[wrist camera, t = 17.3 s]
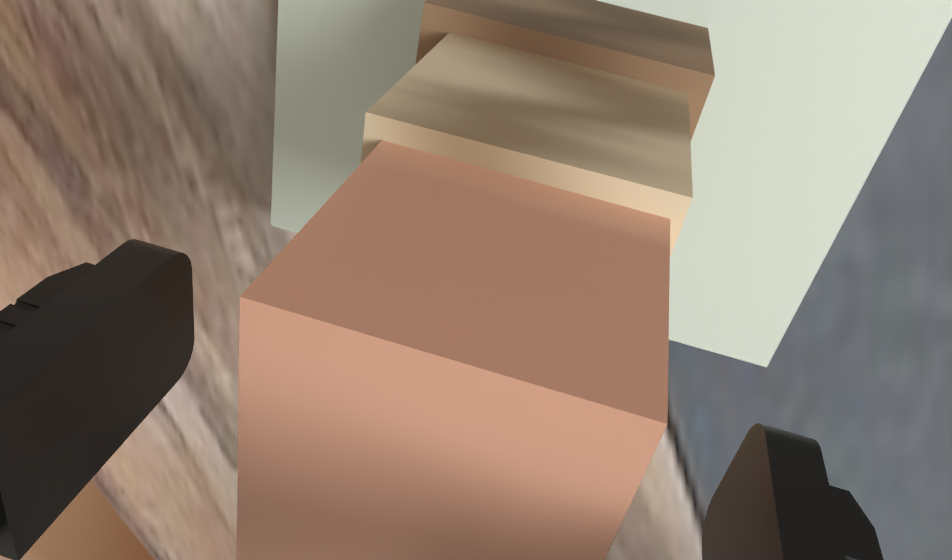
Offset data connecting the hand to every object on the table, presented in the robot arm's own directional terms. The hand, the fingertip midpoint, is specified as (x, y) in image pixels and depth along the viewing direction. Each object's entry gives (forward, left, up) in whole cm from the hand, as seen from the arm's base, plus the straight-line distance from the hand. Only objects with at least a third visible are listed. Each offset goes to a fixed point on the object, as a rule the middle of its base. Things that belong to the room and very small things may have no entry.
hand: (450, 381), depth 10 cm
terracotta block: (0, 0, -2) cm, 2 cm away
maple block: (0, 0, -7) cm, 7 cm away
